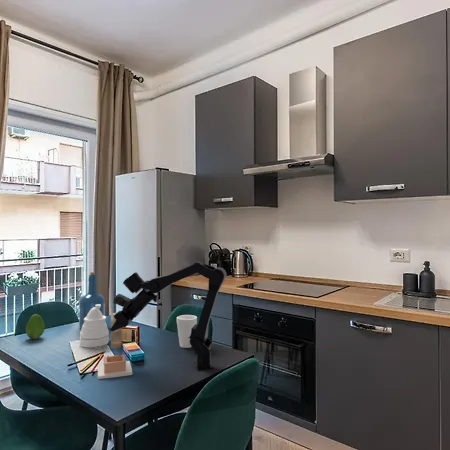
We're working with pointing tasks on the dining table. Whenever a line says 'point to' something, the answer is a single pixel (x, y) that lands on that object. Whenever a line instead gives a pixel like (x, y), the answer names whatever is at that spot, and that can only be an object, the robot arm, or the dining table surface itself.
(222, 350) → the dining table surface
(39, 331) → the fruit
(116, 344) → the tan wooden cylinder
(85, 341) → the honey pot
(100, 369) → the tan box on base
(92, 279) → the wine bottle
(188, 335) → the foam cup
